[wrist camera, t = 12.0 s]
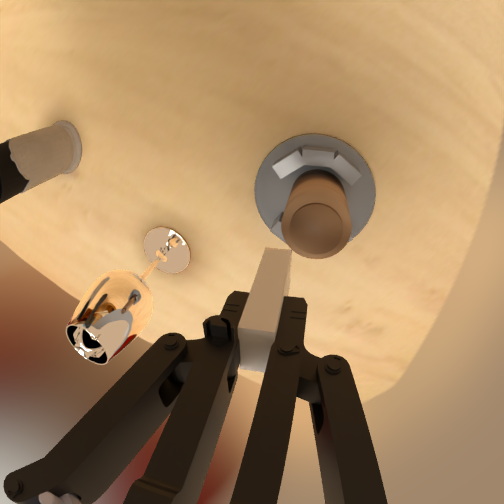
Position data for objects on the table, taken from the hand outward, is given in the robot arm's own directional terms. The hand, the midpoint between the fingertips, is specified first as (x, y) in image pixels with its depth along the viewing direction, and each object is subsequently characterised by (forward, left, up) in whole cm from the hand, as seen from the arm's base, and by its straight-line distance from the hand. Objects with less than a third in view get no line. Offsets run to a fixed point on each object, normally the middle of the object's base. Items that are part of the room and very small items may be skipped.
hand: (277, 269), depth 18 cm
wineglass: (+11, -18, -19) cm, 29 cm away
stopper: (+1, +2, -18) cm, 19 cm away
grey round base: (+1, +2, -19) cm, 19 cm away
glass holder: (-4, -38, -19) cm, 43 cm away
